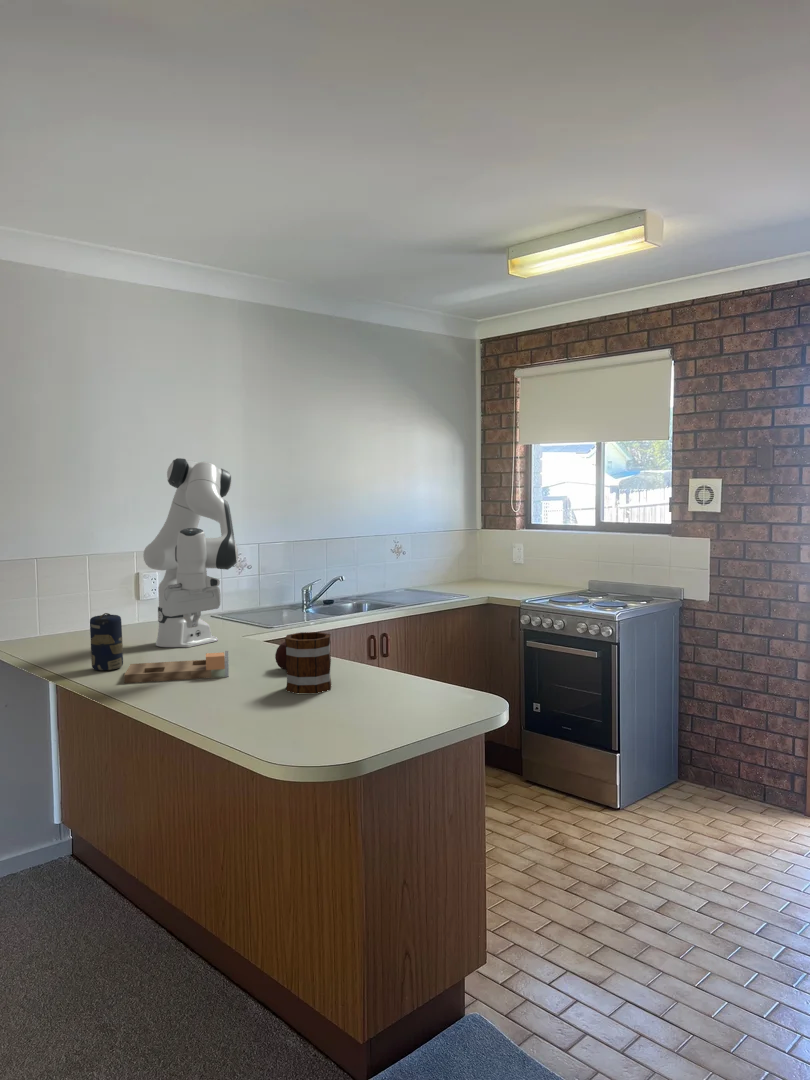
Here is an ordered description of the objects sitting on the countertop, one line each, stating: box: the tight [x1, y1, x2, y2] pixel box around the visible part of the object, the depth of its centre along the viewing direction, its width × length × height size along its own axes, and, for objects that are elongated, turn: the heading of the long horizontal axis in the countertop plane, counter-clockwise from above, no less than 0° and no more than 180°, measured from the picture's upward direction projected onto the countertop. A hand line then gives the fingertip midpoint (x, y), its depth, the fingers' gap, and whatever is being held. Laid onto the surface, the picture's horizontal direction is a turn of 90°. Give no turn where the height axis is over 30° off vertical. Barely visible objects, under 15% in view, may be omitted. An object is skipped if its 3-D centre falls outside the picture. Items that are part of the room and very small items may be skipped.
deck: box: [123, 659, 226, 684], centre depth 243 cm, size 29×15×2 cm, turn 102°
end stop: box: [224, 650, 230, 678], centre depth 247 cm, size 1×15×5 cm, turn 12°
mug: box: [284, 631, 332, 694], centre depth 227 cm, size 20×14×15 cm
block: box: [205, 651, 225, 670], centre depth 241 cm, size 6×6×4 cm
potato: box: [274, 641, 286, 671], centre depth 247 cm, size 9×12×9 cm
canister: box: [89, 612, 124, 671], centre depth 252 cm, size 10×10×18 cm
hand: (192, 627), depth 240 cm, fingers closed
